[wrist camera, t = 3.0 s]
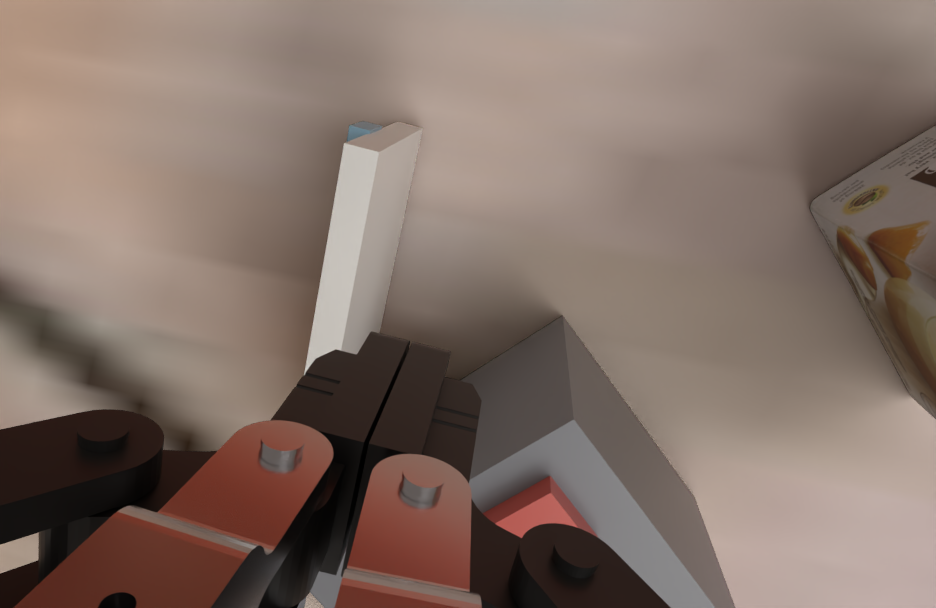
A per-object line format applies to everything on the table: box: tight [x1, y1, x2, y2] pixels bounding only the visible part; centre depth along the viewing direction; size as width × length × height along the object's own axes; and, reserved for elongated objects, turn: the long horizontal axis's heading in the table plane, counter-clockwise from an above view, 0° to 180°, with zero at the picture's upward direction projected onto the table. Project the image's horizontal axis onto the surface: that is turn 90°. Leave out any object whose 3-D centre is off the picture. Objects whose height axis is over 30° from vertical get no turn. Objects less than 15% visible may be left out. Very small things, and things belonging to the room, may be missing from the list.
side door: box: [304, 121, 423, 375], centre depth 22 cm, size 2×13×7 cm, turn 166°
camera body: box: [310, 316, 735, 608], centre depth 24 cm, size 10×11×9 cm
